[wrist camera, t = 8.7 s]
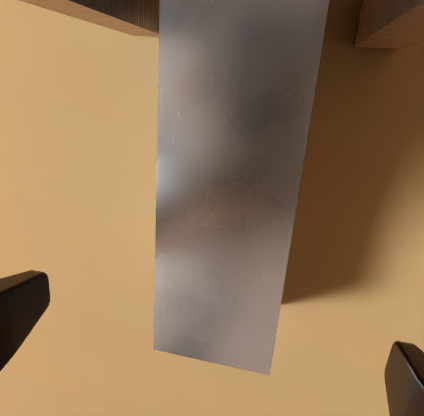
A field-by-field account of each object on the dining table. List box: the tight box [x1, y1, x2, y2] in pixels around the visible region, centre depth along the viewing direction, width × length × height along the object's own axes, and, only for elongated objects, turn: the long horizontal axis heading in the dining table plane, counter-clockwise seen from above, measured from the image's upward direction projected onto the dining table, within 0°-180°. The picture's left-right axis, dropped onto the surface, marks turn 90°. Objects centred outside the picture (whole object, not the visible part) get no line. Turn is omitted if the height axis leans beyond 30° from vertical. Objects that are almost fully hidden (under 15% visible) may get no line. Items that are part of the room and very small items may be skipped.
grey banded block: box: [154, 0, 330, 375], centre depth 11 cm, size 18×4×4 cm, turn 176°
